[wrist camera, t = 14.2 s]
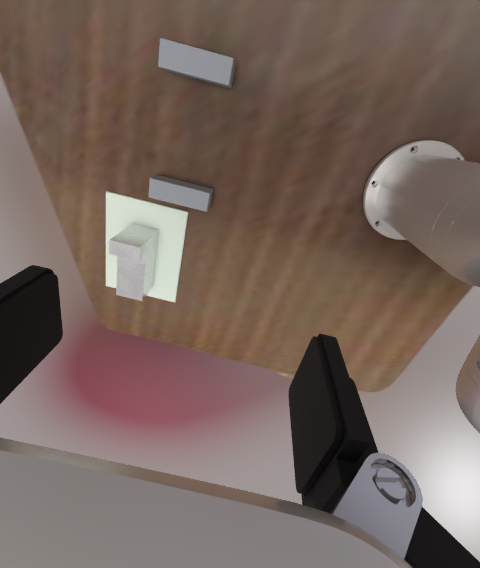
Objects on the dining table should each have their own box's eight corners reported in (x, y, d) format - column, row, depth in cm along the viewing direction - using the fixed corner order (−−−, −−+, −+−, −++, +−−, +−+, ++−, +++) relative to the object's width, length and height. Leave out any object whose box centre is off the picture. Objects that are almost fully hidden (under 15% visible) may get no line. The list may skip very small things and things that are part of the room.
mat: (188, 211, 42) (187, 212, 42) (175, 300, 50) (174, 302, 50) (107, 190, 42) (105, 191, 41) (107, 284, 50) (105, 285, 49)
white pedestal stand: (159, 229, 43) (140, 247, 37) (153, 285, 48) (135, 310, 42) (133, 222, 43) (109, 239, 37) (129, 279, 48) (108, 303, 42)
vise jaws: (236, 63, 34) (233, 58, 31) (210, 206, 42) (206, 211, 39) (168, 44, 33) (160, 38, 31) (156, 192, 41) (148, 197, 39)
